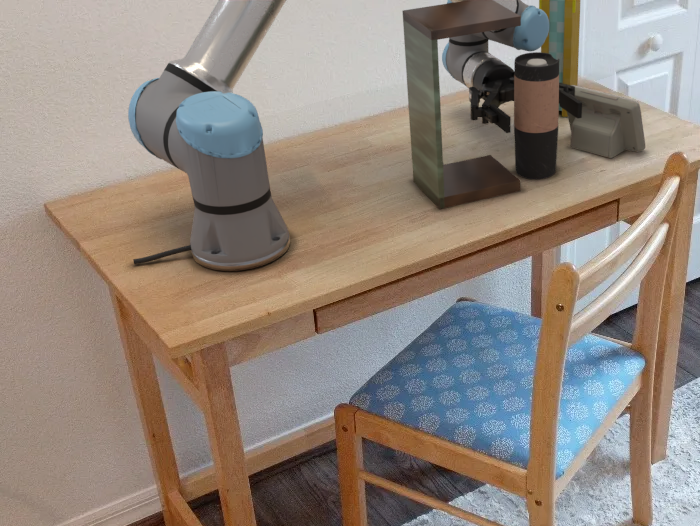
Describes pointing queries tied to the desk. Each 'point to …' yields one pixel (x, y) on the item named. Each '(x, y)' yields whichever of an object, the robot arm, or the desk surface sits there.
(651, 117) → the desk surface
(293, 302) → the desk surface
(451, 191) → the shelf
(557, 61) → the travel mug
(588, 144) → the digital clock
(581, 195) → the desk surface
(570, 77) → the book
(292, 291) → the desk surface
